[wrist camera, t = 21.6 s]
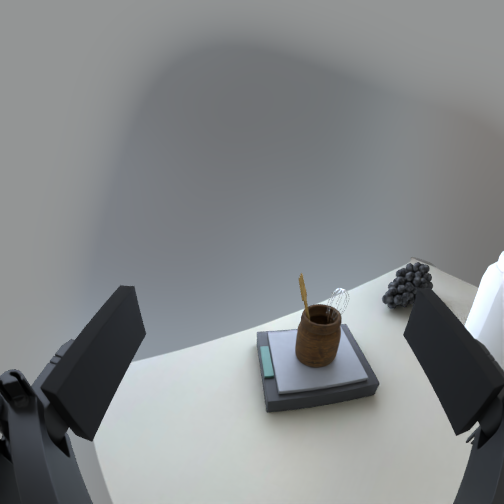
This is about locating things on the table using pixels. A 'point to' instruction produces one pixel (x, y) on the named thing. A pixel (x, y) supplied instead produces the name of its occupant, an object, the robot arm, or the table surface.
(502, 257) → the can
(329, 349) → the utensil holder
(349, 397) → the scale
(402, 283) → the fruit
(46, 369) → the robot arm
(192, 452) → the table surface
